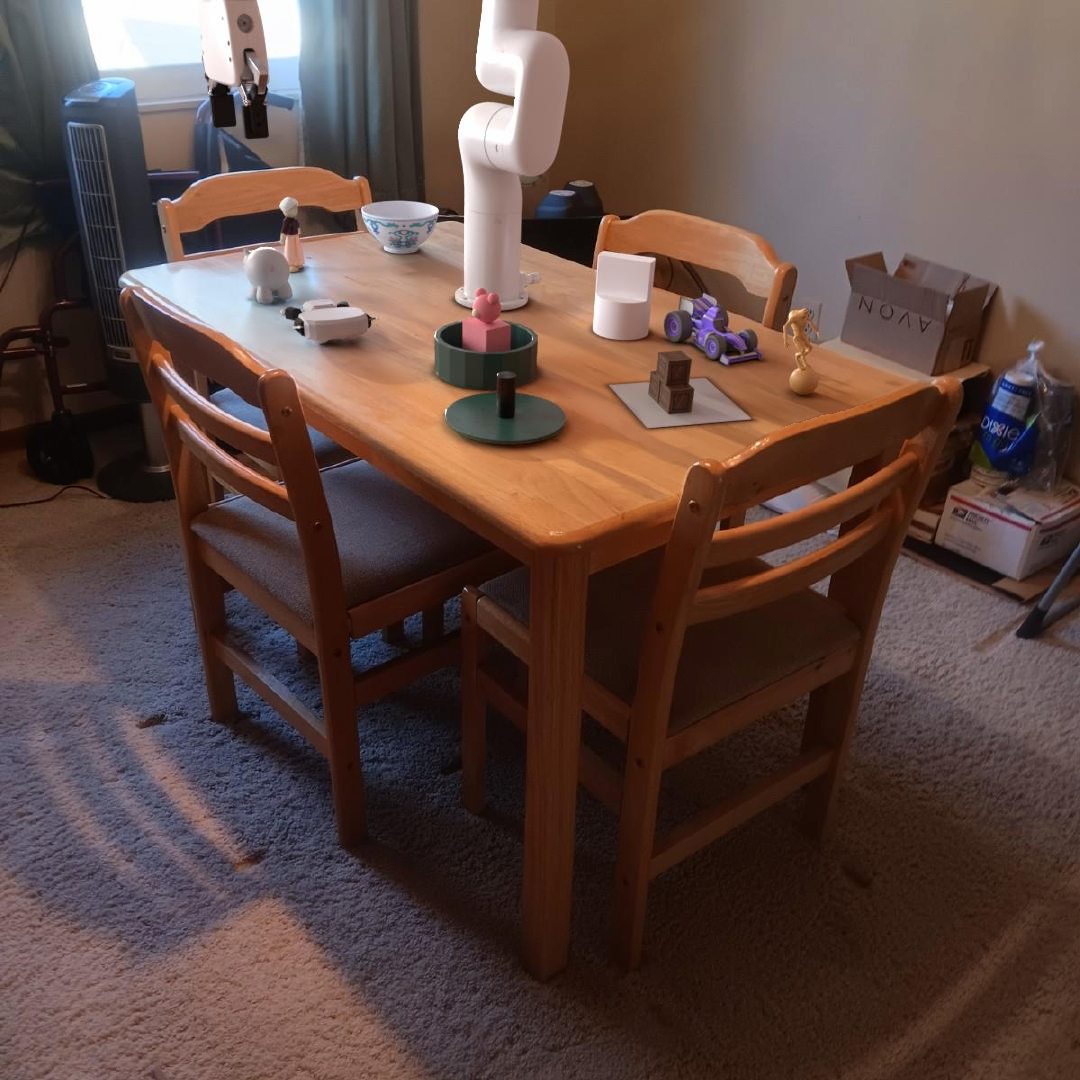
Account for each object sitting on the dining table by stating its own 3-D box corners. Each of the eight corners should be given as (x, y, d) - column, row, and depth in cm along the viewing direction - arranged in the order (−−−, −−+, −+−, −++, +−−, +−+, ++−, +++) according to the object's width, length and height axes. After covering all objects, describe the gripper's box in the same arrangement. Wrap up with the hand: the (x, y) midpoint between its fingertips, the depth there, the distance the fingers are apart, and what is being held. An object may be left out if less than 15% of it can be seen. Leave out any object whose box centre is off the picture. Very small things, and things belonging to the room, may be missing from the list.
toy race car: (720, 368, 151) (725, 326, 148) (661, 336, 162) (665, 297, 159) (768, 359, 155) (775, 318, 152) (708, 329, 166) (713, 290, 163)
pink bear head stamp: (486, 360, 149) (487, 283, 143) (509, 371, 145) (512, 293, 139) (461, 366, 146) (461, 288, 140) (484, 378, 142) (485, 298, 137)
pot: (494, 346, 155) (495, 312, 152) (557, 376, 145) (559, 341, 142) (415, 365, 146) (414, 330, 144) (476, 398, 137) (476, 361, 134)
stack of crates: (751, 419, 135) (759, 371, 131) (647, 428, 131) (652, 378, 127) (704, 378, 147) (711, 333, 143) (608, 385, 143) (612, 338, 139)
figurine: (796, 405, 140) (811, 321, 134) (760, 392, 143) (774, 309, 137) (829, 391, 145) (845, 309, 139) (794, 378, 148) (808, 298, 142)
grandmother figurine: (300, 274, 183) (295, 202, 177) (279, 273, 183) (273, 201, 177) (309, 262, 190) (304, 193, 183) (289, 261, 190) (283, 192, 183)
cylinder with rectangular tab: (585, 334, 161) (590, 259, 155) (602, 318, 168) (607, 246, 162) (640, 343, 159) (647, 267, 153) (654, 326, 166) (661, 253, 160)
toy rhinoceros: (272, 283, 178) (267, 234, 173) (298, 301, 169) (294, 250, 165) (232, 288, 174) (226, 238, 170) (257, 307, 166) (252, 255, 161)
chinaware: (352, 255, 195) (350, 214, 191) (376, 236, 208) (374, 198, 204) (428, 262, 193) (427, 221, 189) (447, 243, 206) (446, 204, 202)
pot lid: (514, 390, 140) (516, 345, 136) (590, 429, 130) (594, 381, 126) (421, 416, 131) (420, 368, 128) (494, 459, 121) (495, 409, 117)
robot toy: (277, 328, 160) (302, 353, 148) (274, 300, 158) (299, 322, 146) (351, 320, 165) (382, 343, 153) (349, 292, 163) (380, 313, 151)
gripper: (285, -11, 121) (296, 141, 130) (224, -19, 132) (239, 121, 141) (226, -11, 117) (242, 145, 125) (168, -20, 128) (186, 124, 137)
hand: (240, 132), depth 133 cm, fingers open, 9 cm apart
